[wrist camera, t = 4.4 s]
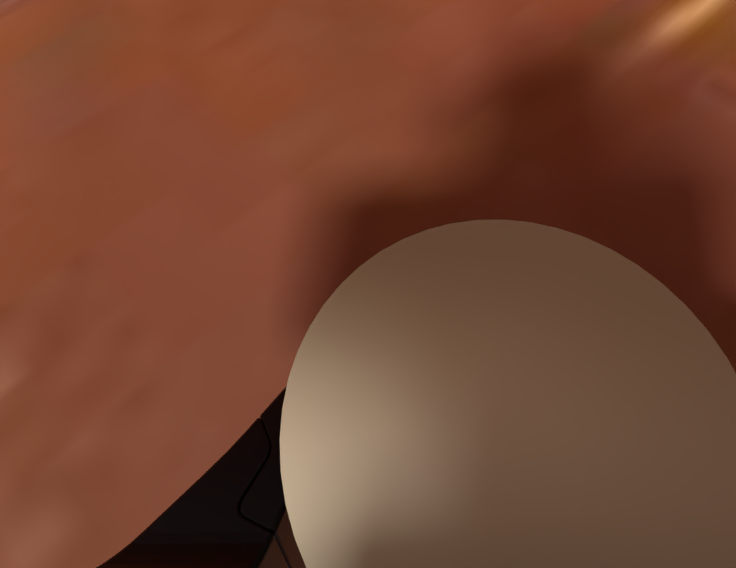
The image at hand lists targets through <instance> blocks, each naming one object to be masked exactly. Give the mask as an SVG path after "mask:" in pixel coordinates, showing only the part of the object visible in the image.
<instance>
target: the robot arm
mask: <svg viewBox="0 0 736 568" xmlns="http://www.w3.org/2000/svg"><path fill="white" fill-rule="evenodd" d="M286 388H287V386H286V387H285V388H284V390H283V391H282V392H281V393H280V394H279V395H278V396H277V397H276V399H275V400H274V401H273V402H272V403H271V404H270V405H269V406H268V408H267V409H266V410H265V411H264V412H263V413H262V414H261V416H260V418H261V419H260V418H258V419H257V420H256V421H255V422H254V423H253V424H252V425H251V426H250V428H249V429H248V430H247V431H246V432H245V433H244V434H243V435H242V436H241V437H240V438H239V439H238V441H237V442H236V443H235V444H234V445H233V446H232V447H231V448H230V449H229V450H228V451H227V452H226V453H225V454H224V455H223V456H222V457H221V458H220V459H219V460H218V461H217V462H216V463H215V464H214V465H213V466H212V467H211V468H210V469H209V470H208V471H207V472H206V473H205V474H204V475H203V476H202V477H201V478H200V479H198V480H197V481H196V482H195V483H194V484H193V485H192V486H191V487H190V488H189V489H188V490H187V491H186V492H185V493H184V494H183V495H182V496H180V497H179V498H178V499H177V500H176V501H175V502H174V503H173V504H172V505H171V506H170V507H169V508H168V509H167V510H166V511H165V512H163V513H162V514H161V515H160V516H159V517H158V518H157V519H156V520H155V521H154V522H153V523H152V524H151V525H150V526H149V527H148V528H147V529H145V530H144V531H143V532H142V533H141V534H140V535H139V536H138V537H137V538H136V539H134V540H133V541H132V542H131V543H130V544H129V545H127V546H126V547H125V548H124V549H122V550H121V551H120V552H119V553H117V554H116V555H115V556H113V557H112V558H110V559H109V560H107V561H106V562H105V563H103V564H102V565H100V566H98V567H97V568H306V566H305V563H304V561H303V558H302V556H301V553H300V551H299V548H298V546H297V543H296V541H295V538H294V534H293V530H292V527H291V523H290V519H289V516H288V512H287V508H286V504H285V497H284V491H283V484H282V478H281V467H280V429H281V417H282V407H283V402H284V397H285V393H286Z"/></svg>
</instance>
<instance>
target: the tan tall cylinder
mask: <svg viewBox="0 0 736 568" xmlns="http://www.w3.org/2000/svg"><path fill="white" fill-rule="evenodd" d="M280 467H281V478H282V484H283V491H284V497H285V504H286V508H287V512H288V516H289V519H290V523H291V527H292V530H293V534H294V538H295V541H296V543H297V546H298V548H299V551H300V553H301V556H302V558H303V561H304V563H305V566H306V568H736V373H735V371H734V369H733V367H732V365H731V364H730V362H729V360H728V358H727V357H726V355H725V354H724V353H723V351H722V350H721V348H720V347H719V345H718V344H717V342H716V341H715V340H714V338H713V337H712V335H711V334H710V332H709V331H708V330H707V329H706V328H705V326H704V325H703V324H702V323H701V322H700V321H699V320H698V318H697V317H696V316H695V315H694V314H693V313H692V311H691V310H690V309H689V308H688V307H687V306H686V305H685V304H684V303H683V302H682V301H681V300H680V299H679V298H678V297H677V296H675V295H674V294H673V293H672V292H671V291H670V290H669V289H668V288H667V287H666V286H665V285H664V284H663V283H661V282H660V281H659V280H657V279H656V278H655V277H653V276H652V275H650V274H649V273H648V272H646V271H645V270H644V269H642V268H641V267H640V266H638V265H637V264H635V263H634V262H632V261H630V260H629V259H627V258H625V257H624V256H622V255H620V254H619V253H617V252H615V251H613V250H612V249H610V248H608V247H605V246H603V245H601V244H599V243H597V242H595V241H592V240H590V239H588V238H586V237H583V236H580V235H577V234H574V233H571V232H568V231H565V230H562V229H559V228H556V227H551V226H546V225H542V224H537V223H532V222H525V221H515V220H504V219H494V220H471V221H464V222H457V223H450V224H446V225H442V226H439V227H435V228H431V229H427V230H424V231H422V232H419V233H417V234H414V235H412V236H409V237H407V238H404V239H402V240H400V241H398V242H396V243H394V244H393V245H391V246H389V247H387V248H385V249H384V250H382V251H380V252H379V253H377V254H376V255H374V256H373V257H372V258H370V259H369V260H368V261H366V262H365V263H363V264H362V265H361V266H359V267H358V268H357V269H356V270H355V271H354V272H353V273H352V274H351V275H350V276H349V277H348V278H346V279H345V280H344V281H343V282H342V283H341V284H340V285H339V287H338V288H337V289H336V290H335V291H334V293H333V294H332V295H331V296H330V297H329V299H328V300H327V301H326V302H325V303H324V305H323V306H322V308H321V309H320V311H319V313H318V314H317V316H316V317H315V319H314V320H313V322H312V324H311V325H310V327H309V329H308V331H307V333H306V335H305V337H304V339H303V341H302V343H301V345H300V348H299V350H298V352H297V355H296V358H295V361H294V364H293V367H292V370H291V372H290V375H289V378H288V383H287V388H286V393H285V397H284V402H283V407H282V417H281V429H280Z"/></svg>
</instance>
